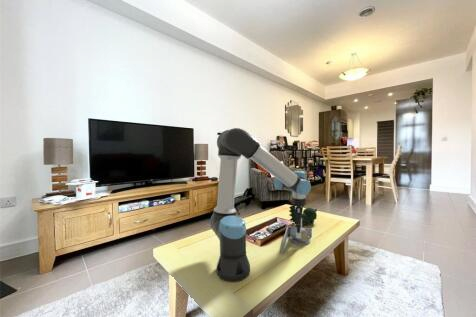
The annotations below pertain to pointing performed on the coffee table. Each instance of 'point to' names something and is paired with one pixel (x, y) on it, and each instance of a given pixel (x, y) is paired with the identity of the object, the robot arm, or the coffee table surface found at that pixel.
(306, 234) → the ceramic mug
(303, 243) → the slate coaster
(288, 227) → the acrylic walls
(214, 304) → the coffee table surface
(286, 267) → the coffee table surface
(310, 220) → the toy figurine
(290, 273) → the coffee table surface
